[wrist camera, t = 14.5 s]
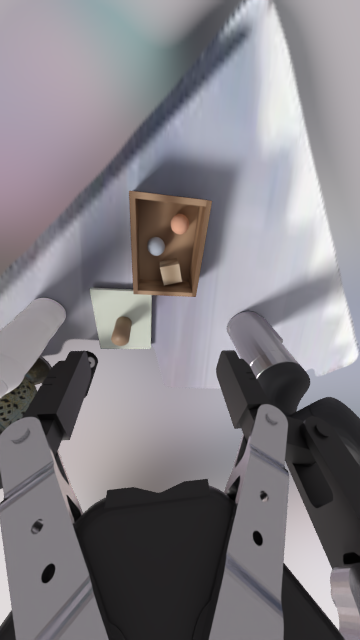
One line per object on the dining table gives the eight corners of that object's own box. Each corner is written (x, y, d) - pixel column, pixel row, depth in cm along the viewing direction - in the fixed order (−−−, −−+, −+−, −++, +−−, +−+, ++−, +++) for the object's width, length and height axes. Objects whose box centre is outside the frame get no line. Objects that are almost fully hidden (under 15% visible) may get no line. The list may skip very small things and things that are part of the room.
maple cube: (177, 258, 37) (179, 263, 34) (179, 275, 39) (181, 281, 36) (159, 261, 37) (160, 267, 34) (163, 278, 39) (163, 285, 36)
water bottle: (37, 290, 38) (-96, 402, 18) (72, 306, 41) (-9, 419, 21) (27, 314, 41) (-98, 434, 21) (60, 328, 44) (-20, 445, 24)
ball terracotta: (188, 213, 33) (191, 216, 30) (186, 233, 35) (189, 236, 32) (170, 211, 33) (172, 213, 30) (169, 231, 34) (170, 235, 32)
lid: (151, 288, 41) (151, 306, 35) (150, 344, 51) (150, 366, 44) (91, 285, 40) (80, 303, 33) (102, 344, 49) (94, 367, 42)
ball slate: (164, 236, 35) (165, 239, 32) (164, 253, 36) (164, 258, 34) (147, 234, 34) (146, 238, 32) (147, 252, 36) (146, 257, 33)
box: (203, 199, 33) (212, 200, 28) (190, 284, 41) (195, 296, 37) (133, 190, 31) (129, 190, 26) (136, 281, 40) (133, 294, 35)
